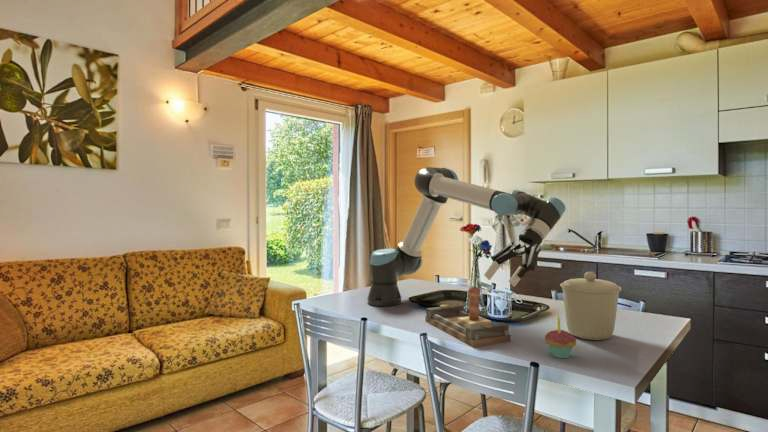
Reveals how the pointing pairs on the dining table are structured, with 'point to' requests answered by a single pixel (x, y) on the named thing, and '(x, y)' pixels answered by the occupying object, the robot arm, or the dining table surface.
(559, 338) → the cupcake
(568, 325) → the canister
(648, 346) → the dining table surface
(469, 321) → the carriage
